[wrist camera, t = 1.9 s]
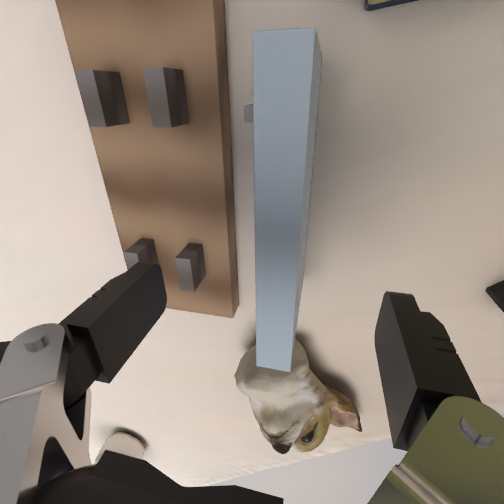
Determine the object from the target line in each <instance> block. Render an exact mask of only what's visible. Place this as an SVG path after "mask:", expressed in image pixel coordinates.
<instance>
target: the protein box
mask: <svg viewBox="0 0 504 504" xmlns="http://www.w3.org/2000/svg"><path fill="white" fill-rule="evenodd" d="M412 1H417V0H365V10H367V11H371V10H376V9H380V8H384V7H389V6H393V5H398V4H403V3H408V2H412Z"/></svg>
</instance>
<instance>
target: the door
mask: <svg viewBox="0 0 504 504" xmlns="http://www.w3.org/2000/svg"><path fill="white" fill-rule="evenodd" d="M321 66H322V54H321V50H320V46H319V41H318V37H317V33H316V28H315V27H312V28H296V29H280V30H264V31H253V104H251V105H246V106H244V110H245V122H254V193H255V278H256V362H257V366H260V367H265V368H271V369H276V370H281V371H287V372H290V369H291V362H292V355H293V348H294V341H295V334H296V327H297V319H298V312H299V305H300V298H301V291H302V284H303V276H304V264H305V253H306V241H307V229H308V218H309V206H310V194H311V183H312V171H313V159H314V148H315V136H316V125H317V113H318V101H319V90H320V78H321Z"/></svg>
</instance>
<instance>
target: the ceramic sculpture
mask: <svg viewBox="0 0 504 504" xmlns="http://www.w3.org/2000/svg"><path fill="white" fill-rule="evenodd" d="M235 378H236V385H237V387H238V389H239V390H240V391H241V392H242V393H244V394H245V395H247V396H248V397H249V401H250V404H251V406H252V409H253V413H254V415H255V418H256V420H257V422H258V424H259V425H260V430H261V432H262V434H263V436H264V437H265V438H266V440H267V441H269V442H270V443H271V444H272V446H273V448H274V449H275V450H276V451H277V452H279V453H281V454H285V453H287V452H309V451H312V450H313V449H315V448H316V447H318V446H319V445H320V444H321V443H322V441H323V440H324V438H325V436H326V433H327V431H328V427H329V425H330V423H331V424H333V425H335V426H338V427H345V426H348V427H351V428H354V429H356V430H358V431H360V432H362V428H361V424H360V417H359V413H358V411H357V409H356V407H355V405H354V404H353V403H352V401H351V400H350V399H349V398H348V397H346V396H345V395H343V394H342V393H340V392H338V391H336V390H334V389H332V388H330V387H329V386H326V385H323V384H322V383H321V382H320V381H319V379H318V378H317V377H316V376H315V375H314V374H313V373H312V371H311V370H310V369H309V362H308V359H307V354H306V352H305V350H304V348H303V347H302V345H301V344H300V343H299V342H298V341H297V340H296V339H295V341H294V348H293V355H292V362H291V369H290V372H287V371H281V370H276V369H271V368H265V367H260V366H257V362H256V344H255V345H253V346H252V347H251V348H250V349H249V350H248V351H247V352H246V353H245V354H244V356H243V357H242V359H241V361H240V363H239V366H238V369H237V371H236V373H235Z"/></svg>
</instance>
